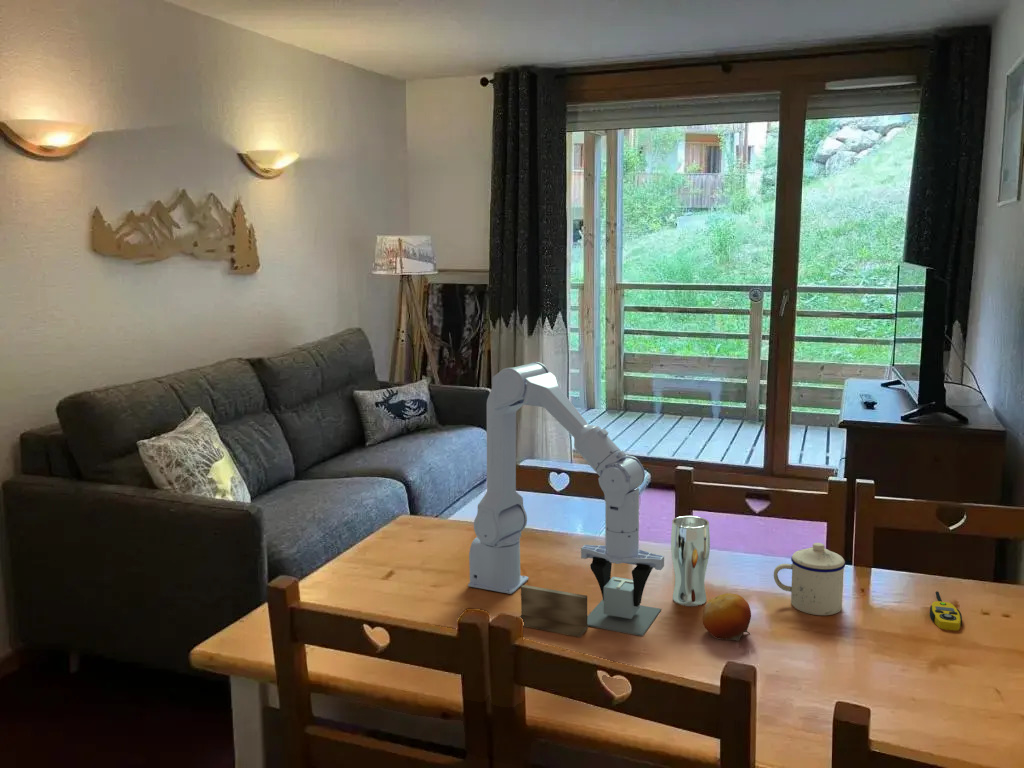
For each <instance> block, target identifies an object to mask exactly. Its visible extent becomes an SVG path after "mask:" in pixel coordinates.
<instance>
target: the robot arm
mask: <svg viewBox="0 0 1024 768" xmlns="http://www.w3.org/2000/svg"><path fill="white" fill-rule="evenodd" d="M556 377H557V376H556V375H555V374H553V372H551V371H550V370H549V369H548V367H547V366H546V365H545V364H544V363H542V362H539V361H532V362H529V363H528V364H527V363H526V364H523V365H519V366H514V367H506V368H502V369H501V370H500V371H499V372H498V373H496V374H495V375H494V376H493V377H491V379H492V380H491V382H492V383H491V384H492V385H491V390H490V392H489V394H488V396H487V399H486V492H485V494H484V496H483V497H482V498H481V500H480V501H479V503H478V504H477V513H476V516H475V518H474V520H473V530H474V532H475V536H476V537H475V538H473V540H472V541H471V544H470V547H469V553H468V554H469V555H468V559H469V583H468V585H467V586H468V587H470V588H474V589H475V588H476V589H480V590H482V589H483V590H486V591H493V592H498V593H503V594H508V595H509V594H510V595H512V594H513V593H515V592H516V591H517V590H518V589H519V588H521V586H522V585H525V583H527V581H528V580H529V576H526V575H521V545H520V544H521V543H520V542H521V537H522V531H523V530H524V529H526V527H527V523H528V515H527V512H526V510H525V508H524V507H525V506H524V497H523V496H522V495H521V494H520V493H518V492H517V480H516V479H517V468H516V467H517V462H516V461H517V455H516V453H517V448H516V447H517V411H518V410H519V409H521V408H522V407H523V406H531V407H539V408H544V409H545V411H547V412H548V413H549V414H550V416H552V418H554V420H556V421H557V422H558V423H559V424H560V426H562V427H563V428H564V429H565V430H566V431H567V432H568V433H569V435H571V436H572V437H573V440H574V441H573V445H574V449H575V450H576V451H577V452H578V454H579V455H580V456H581V457H582V459H584V460H585V461H586V463H587V464H588V465H589V466H590V468H592V470H593V471H594V472H595V473H596V474H597V475H598V476H599V477H598V484H599V488H601V491H602V492H603V495H604V502H605V508H604V509H605V510H604V511H605V520H604V522H605V524H604V525H605V527H604V528H605V534H604V535H605V537H604V538H605V541H604V542H605V545H604V544H603V545H602V544H601V545H599V544H597V545H596V544H584V545H583V546H582V547H581V548H580V558H581V559H584V560H586V559H587V560H588V559H592V561H591V563H590V569H591V570H590V571H592V572H593V575H594V577H595V579H596V580H597V584H598V587H599V589H600V591H601V593H600V594H601V596H602V599H603V601H604V586H605V585H606V584H607V583H608V581H609V580H610V579H611V578H612V577H611V576H612V565H613V564H617V565H620V564H628V565H635V567H634V568H633V569H632V570H631V575H632V580H633V585H634V597H633V602H634V606H636V607H638V606H639V604H640V605H641V603H642V598H643V593H644V591H645V590H644V589H645V586H646V584H647V581H648V579H649V577H650V574H651V572H652V571H653V569H655V570H656V571H662V569H664V567H665V555H663V554H662V555H660V554H656V553H653V552H649V551H646V550H643V549H639V546H640V545H639V544H640V543H639V537H640V535H639V534H640V533H639V531H640V530H639V528H640V525H639V523H640V521H639V520H640V516H639V515H640V514H639V513H640V511H639V510H640V496H639V495H640V488H639V487H640V486H641V485H643V483H644V481H645V477H646V472H645V468H644V466H643V464H642V463H641V461H640V460H639V459H638V458H637V457H635V456H633V455H627V453H625V451H624V450H621V449H620V448H619V447H618V446H617V444H616V443H615V442H614V441H613V440H612V439H611V438H610V437H609V432H608V431H607V430H606V429H605V428H601V427H600V426H599V425H593V424H589V423H588V422H587V421H586V419H585V418H584V416H582V414H581V413H580V412H579V411H578V409H577V407H576V406H575V405H574V404H573V403H572V402H571V401H570V399H569V398H568V397H567V395H566V394H565V393H564V391H563V390H562V389H561V388H560V386H559V384H558V380H557V378H556Z"/></svg>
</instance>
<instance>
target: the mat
mask: <svg viewBox="0 0 1024 768" xmlns="http://www.w3.org/2000/svg"><path fill="white" fill-rule="evenodd" d="M661 611H662V608H659V607H658V608H657V607H652V606H646V605H641V604H640V608H639V609H638V611H637V612H636V613H635V615H634V616H633V617H632V618H631V619H629V618H623V617H618V616H612V615H606V614H604V601H603V598H602V599H601V600H600V602H599V603H598V604H597V605H596V606H595V607H594V608H593V609H592V611H591V612H590V613H589V614H587V627H591V628H597V629H601V630H602V629H603V630H607V631H612V632H617V633H624V634H628V635H634V636H639V637H644V635H645V634H646V632H647V631H648V630H649V628H650V627H651V625H652V624H653V623H652V622H654V621H655V620H656V618H657V617H658V615H660V613H661Z"/></svg>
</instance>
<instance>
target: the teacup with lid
mask: <svg viewBox="0 0 1024 768" xmlns="http://www.w3.org/2000/svg"><path fill="white" fill-rule="evenodd" d="M825 547H826V546H825V544H824V543H821V542H814V543H813V544H812V546H811V547H808V548H802V549H799V550H797V551H795V552H794V553H793V554H792V555H791V557H790V561H791V563H792V564H791V563H781V564H778V565H777V566H776V567H775V568H774V571H773V579H774V582H775V584H776V585H777V587H778V588H779V589H781V590H783V591H786V592H790V593H791V594H790V603H791V605H792V606H793V607H794V608H795V609H796V610H798V611H800V612H802V613H805V614H809V615H814V616H831V615H835V614H838V613H839V612H840V611H841V610H842V609H843V587H844V569H845V567H846V561H845V559H844V558H843V556H842V555H840V554H838V553H836V552H834V551H831V550H830V549H827V548H825ZM781 570H792V571H791V586H789V585H785V584H784V583H782V581H780V579H779V575H778V573H779V571H781Z"/></svg>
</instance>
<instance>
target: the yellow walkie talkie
mask: <svg viewBox="0 0 1024 768" xmlns="http://www.w3.org/2000/svg"><path fill="white" fill-rule="evenodd" d="M935 596H936V598H937V601H933V602H932V604H931V605H930V607H929V618H930V620H931V621H932V623H934V624H935V625H936V627H938V628H939V629H941V630H946V631H955V632H956V631H959V630H960V629H961V626H962V622H963V617H962V613H961V611H960V610H959V608H957V607H956V606H955V605H954V604H953V603H951V602H947V601H943V600H942V597H941V595H940V592H939V591H937V590H936V591H935Z"/></svg>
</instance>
